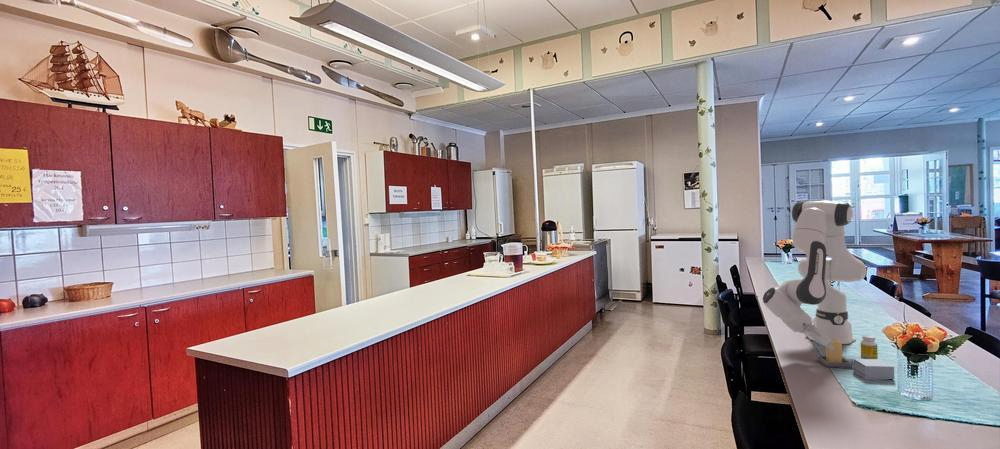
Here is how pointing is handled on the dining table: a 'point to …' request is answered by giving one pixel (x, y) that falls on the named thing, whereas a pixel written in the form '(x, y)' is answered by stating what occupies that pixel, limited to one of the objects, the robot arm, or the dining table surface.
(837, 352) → the stub
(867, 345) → the supplement bottle
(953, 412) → the dining table surface
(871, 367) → the block
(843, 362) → the dish
